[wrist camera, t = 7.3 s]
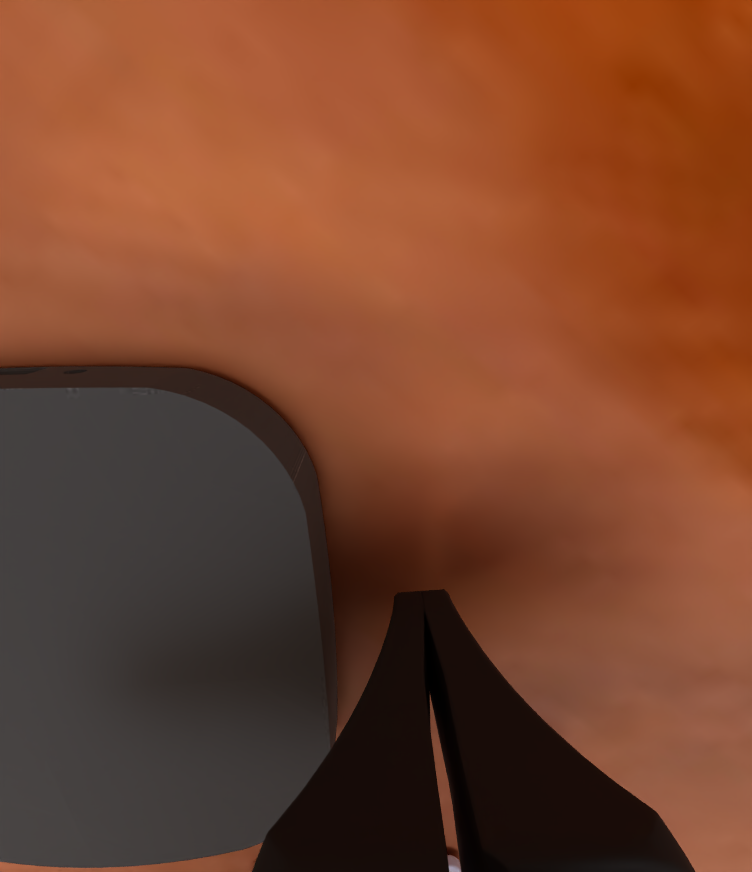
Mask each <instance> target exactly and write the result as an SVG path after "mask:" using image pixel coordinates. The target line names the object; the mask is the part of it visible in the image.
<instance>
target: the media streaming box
mask: <svg viewBox="0 0 752 872" xmlns="http://www.w3.org/2000/svg"><path fill="white" fill-rule="evenodd" d="M336 727H337V661H336V640H335V624H334V610H333V598H332V587H331V577H330V568H329V559H328V550H327V542H326V534H325V527H324V519H323V512H322V505H321V498H320V492H319V486H318V479H317V474H316V471H315V469H314V466H313V463H312V461H311V459H310V457H309V455H308V453H307V451H306V449H305V448H304V446H303V444H302V443H301V441H300V440H299V438H298V437H297V435H296V434H295V433H294V431H293V430H292V429H291V427H290V426H289V425H288V424H287V423H286V422H285V421H284V420H283V419H282V418H281V416H279V415H278V414H277V413H276V412H275V411H274V410H273V409H272V408H271V407H270V406H268V405H267V404H266V403H264V402H263V401H262V400H261V399H259V398H258V397H256V396H255V395H253V394H252V393H250V392H249V391H247V390H245V389H244V388H242V387H240V386H238V385H236V384H234V383H232V382H230V381H228V380H225V379H223V378H220V377H218V376H215V375H212V374H209V373H206V372H202V371H198V370H193V369H189V368H168V367H121V366H63V367H16V368H0V862H8V863H16V864H24V865H35V866H49V867H73V868H103V867H125V866H139V865H150V864H161V863H169V862H176V861H184V860H191V859H197V858H203V857H208V856H214V855H219V854H224V853H229V852H234V851H238V850H243V849H246V848H249V847H252V846H255V845H257V844H260V843H262V842H264V839H265V837H266V835H267V833H268V831H269V830H270V829H271V828H272V826H273V825H274V824H275V823H276V822H277V820H278V819H279V818H280V817H281V815H282V814H283V813H284V812H285V811H286V809H287V808H288V807H289V806H290V805H291V803H292V802H293V801H294V800H295V798H296V797H297V796H298V795H299V793H300V792H301V791H302V790H303V788H304V787H305V786H306V784H307V783H308V781H309V780H310V779H311V777H312V776H313V774H314V773H315V771H316V770H317V769H318V767H319V766H320V764H321V763H322V762H323V760H324V759H325V757H326V756H327V754H328V753H329V751H330V750H331V748H332V747H333V745H334V744H335V738H336Z"/></svg>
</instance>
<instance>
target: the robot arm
mask: <svg viewBox="0 0 752 872" xmlns="http://www.w3.org/2000/svg"><path fill="white" fill-rule="evenodd" d="M429 691H430V692H429ZM430 695H431V700H432V705H433V710H434V715H435V719H436V724H437V729H438V734H439V738H440V743H441V748H442V753H443V757H444V762H445V767H446V772H447V776H448V781H449V787H450V793H451V798H452V804H453V812H454V820H455V827H456V835H457V843H458V850H459V858H460V862H459V860H458V859H457V858H456V857H455V856H452V855H447V849H446V842H445V835H444V828H443V821H442V814H441V807H440V799H439V792H438V785H437V777H436V770H435V762H434V755H433V747H432V739H431V730H430ZM252 872H695V870H694V869H693V867H692V865H691V863H690V862H689V860H688V858H687V857H686V855H685V853H684V852H683V850H682V849H681V847H680V846H679V844H678V843H677V841H676V840H675V838H674V837H673V835H672V834H671V832H670V831H669V829H668V828H667V826H666V825H665V823H664V822H663V820H662V819H661V818H660V816H659V815H658V813H657V812H656V811H655V810H653V809H652V808H650V807H649V806H648V805H646V804H645V803H643V802H642V801H641V800H639V799H638V798H637V797H635V796H634V795H632V794H631V793H630V792H628V791H627V790H625V789H624V788H623V787H621V786H620V785H619V784H617V783H616V782H615V781H613V780H612V779H611V778H609V777H608V776H607V775H606V774H604V773H603V772H602V771H601V770H599V769H598V768H597V767H596V766H595V765H593V764H592V763H591V762H590V761H588V760H587V759H586V758H585V757H583V756H582V755H581V754H580V753H579V752H578V751H577V750H576V749H575V748H573V747H572V746H571V745H570V744H569V743H568V742H567V741H566V740H565V739H563V738H562V737H561V736H560V735H559V734H558V733H557V732H556V731H555V730H554V729H552V728H551V727H550V726H549V725H548V724H547V723H546V722H545V721H544V720H543V719H542V718H541V717H540V716H539V715H538V714H537V713H536V712H535V711H534V710H533V709H532V708H531V707H530V706H529V705H528V704H527V703H526V702H525V701H524V699H523V698H522V697H521V696H520V695H519V694H518V693H517V692H516V691H515V690H514V689H513V687H512V686H511V685H510V684H509V683H508V682H507V680H506V679H505V678H504V677H503V676H502V674H501V673H500V672H499V671H498V669H497V668H496V667H495V666H494V664H493V663H492V662H491V661H490V659H489V658H488V657H487V655H486V654H485V653H484V651H483V650H482V648H481V647H480V646H479V644H478V643H477V641H476V640H475V638H474V637H473V636H472V634H471V633H470V631H469V630H468V628H467V627H466V625H465V623H464V622H463V620H462V618H461V617H460V615H459V613H458V612H457V610H456V608H455V606H454V604H453V603H452V600H451V598H450V596H449V594H448V592H446V591H445V590H444V589H443V590H429V591H415V592H401V593H397V594H396V595H395V596H394V606H393V612H392V616H391V620H390V624H389V628H388V631H387V634H386V637H385V640H384V643H383V646H382V649H381V652H380V655H379V657H378V660H377V662H376V664H375V667H374V669H373V672H372V674H371V676H370V679H369V681H368V683H367V685H366V688H365V690H364V692H363V694H362V696H361V698H360V700H359V702H358V704H357V706H356V708H355V709H354V711H353V713H352V715H351V717H350V719H349V720H348V722H347V724H346V725H345V727H344V729H343V730H342V732H341V734H340V736H339V737H338V739H337V741H336V742H335V744H334V745H333V747H332V748H331V750H330V751H329V753H328V754H327V756H326V757H325V759H324V760H323V762H322V763H321V764H320V766H319V767H318V769H317V770H316V771H315V773H314V774H313V776H312V777H311V779H310V780H309V781H308V783H307V784H306V786H305V787H304V788H303V790H302V791H301V792H300V793H299V795H298V796H297V797H296V798H295V800H294V801H293V802H292V803H291V805H290V806H289V807H288V808H287V809H286V811H285V812H284V813H283V814H282V815H281V817H280V818H279V819H278V820H277V822H276V823H275V824H274V825H273V826H272V828H271V829H270V830H269V831H268V833H267V835H266V837H265V839H264V842H263V844H262V847H261V849H260V852H259V854H258V857H257V860H256V862H255V865H254V868H253V870H252Z"/></svg>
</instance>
